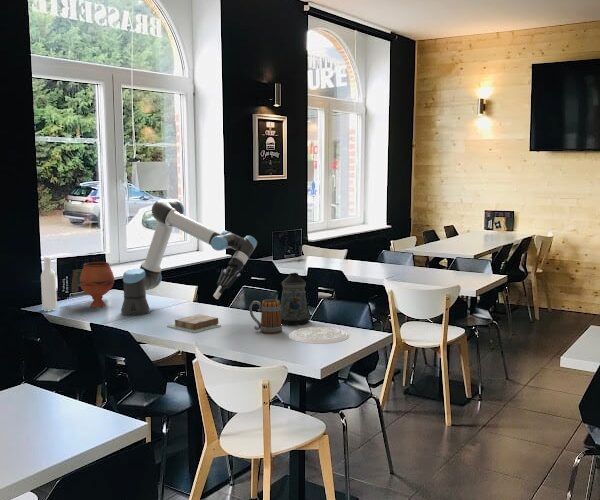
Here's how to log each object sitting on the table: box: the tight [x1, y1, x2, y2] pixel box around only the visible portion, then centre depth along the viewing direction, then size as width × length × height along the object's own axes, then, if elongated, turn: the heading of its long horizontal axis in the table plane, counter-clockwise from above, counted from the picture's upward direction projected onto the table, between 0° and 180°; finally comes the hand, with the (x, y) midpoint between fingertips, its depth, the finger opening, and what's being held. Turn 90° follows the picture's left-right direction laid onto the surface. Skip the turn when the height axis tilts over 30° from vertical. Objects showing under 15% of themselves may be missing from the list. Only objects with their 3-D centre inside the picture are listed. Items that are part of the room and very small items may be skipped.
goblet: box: [79, 261, 115, 308], centre depth 372 cm, size 19×19×25 cm
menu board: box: [174, 314, 219, 330], centre depth 323 cm, size 14×3×16 cm
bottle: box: [40, 256, 58, 312], centre depth 361 cm, size 8×8×30 cm
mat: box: [167, 323, 222, 334], centre depth 322 cm, size 20×18×1 cm
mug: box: [248, 298, 283, 335], centre depth 311 cm, size 16×11×15 cm
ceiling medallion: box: [288, 326, 350, 345], centre depth 303 cm, size 28×28×3 cm
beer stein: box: [280, 272, 311, 327], centre depth 330 cm, size 16×19×25 cm
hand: (215, 297), depth 331 cm, fingers closed
